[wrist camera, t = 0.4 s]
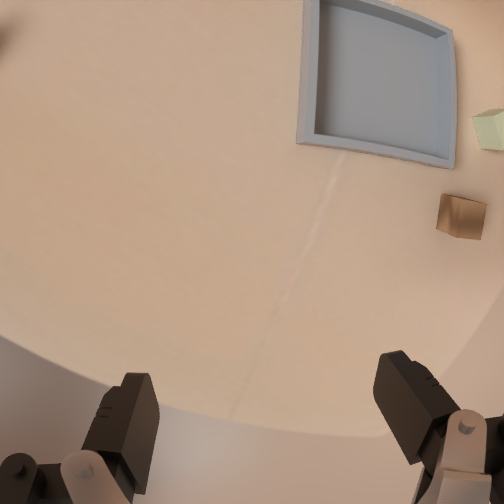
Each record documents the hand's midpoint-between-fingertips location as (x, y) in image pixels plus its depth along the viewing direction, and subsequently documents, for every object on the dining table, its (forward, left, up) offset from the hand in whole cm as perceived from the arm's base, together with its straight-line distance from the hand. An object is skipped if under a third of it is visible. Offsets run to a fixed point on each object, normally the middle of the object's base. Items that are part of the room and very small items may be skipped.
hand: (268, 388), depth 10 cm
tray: (-20, +16, -28) cm, 38 cm away
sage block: (-18, +36, -28) cm, 49 cm away
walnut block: (-4, +30, -28) cm, 41 cm away
